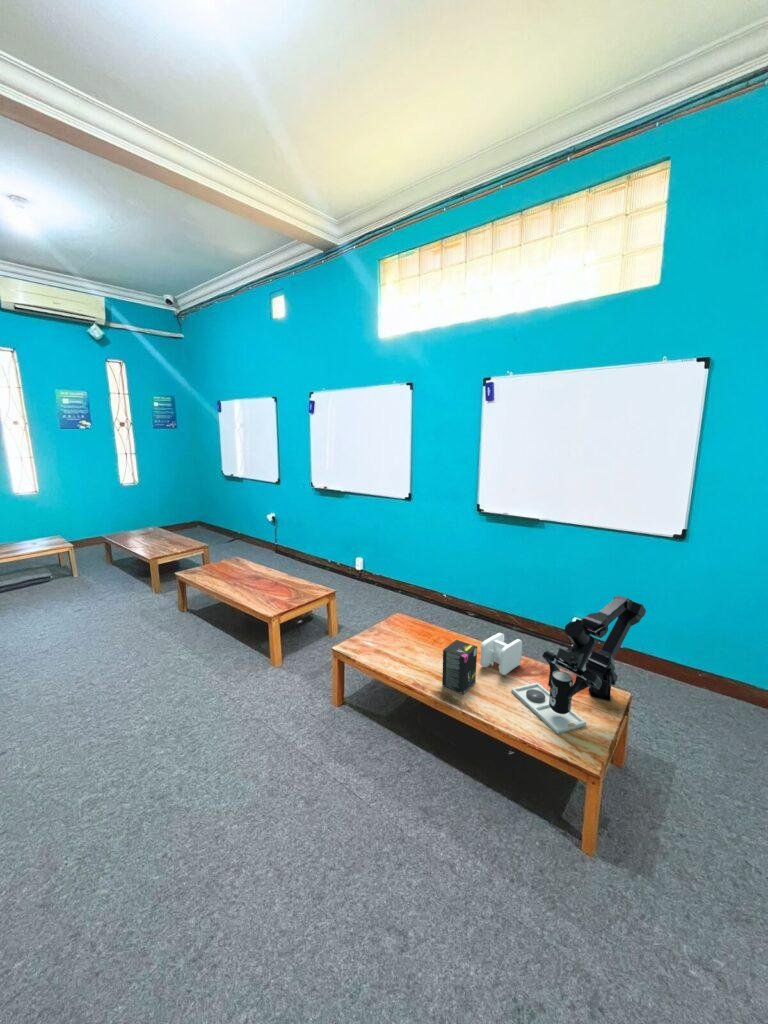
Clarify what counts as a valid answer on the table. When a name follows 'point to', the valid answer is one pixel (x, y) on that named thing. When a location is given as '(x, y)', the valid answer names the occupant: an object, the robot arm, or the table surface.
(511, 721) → the table surface
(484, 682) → the table surface
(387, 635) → the table surface
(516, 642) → the cable organizer
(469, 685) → the tampon box
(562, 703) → the beverage can
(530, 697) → the white divided tray
